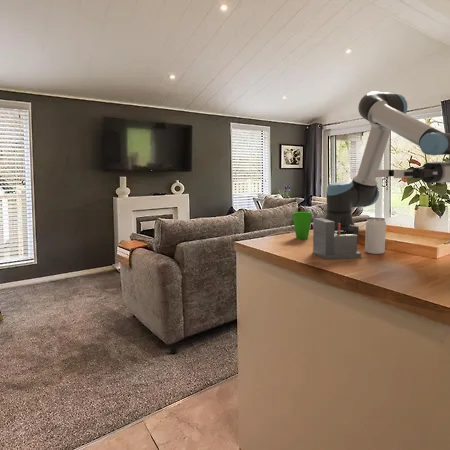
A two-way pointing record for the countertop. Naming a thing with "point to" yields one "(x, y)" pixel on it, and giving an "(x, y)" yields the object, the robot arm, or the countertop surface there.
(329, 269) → the countertop surface
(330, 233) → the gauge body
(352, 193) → the robot arm
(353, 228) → the plunger
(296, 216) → the cup
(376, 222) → the can
